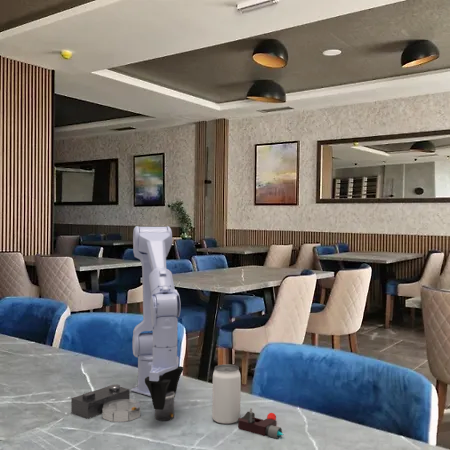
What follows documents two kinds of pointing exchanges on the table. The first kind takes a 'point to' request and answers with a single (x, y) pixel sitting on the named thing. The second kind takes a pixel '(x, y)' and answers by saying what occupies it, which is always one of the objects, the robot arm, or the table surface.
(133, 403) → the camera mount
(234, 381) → the can
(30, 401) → the table surface
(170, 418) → the lens
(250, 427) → the toy gun
